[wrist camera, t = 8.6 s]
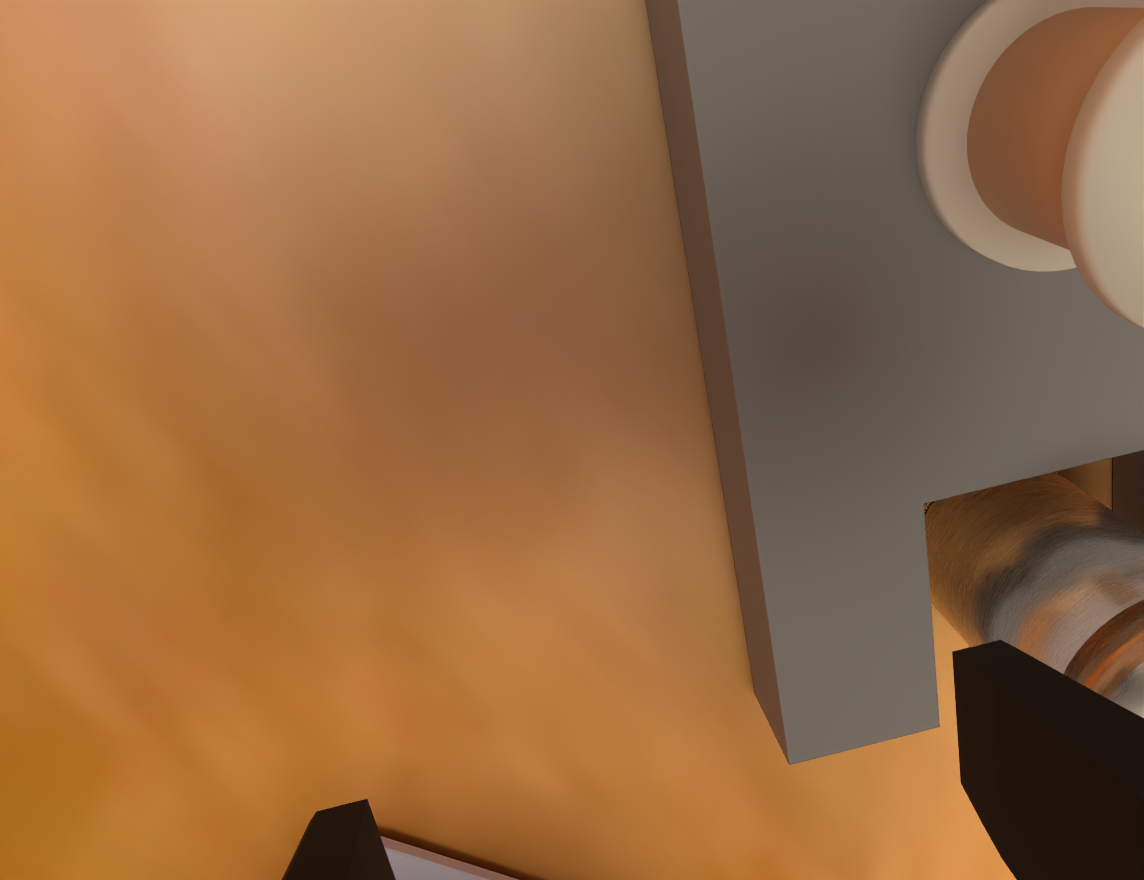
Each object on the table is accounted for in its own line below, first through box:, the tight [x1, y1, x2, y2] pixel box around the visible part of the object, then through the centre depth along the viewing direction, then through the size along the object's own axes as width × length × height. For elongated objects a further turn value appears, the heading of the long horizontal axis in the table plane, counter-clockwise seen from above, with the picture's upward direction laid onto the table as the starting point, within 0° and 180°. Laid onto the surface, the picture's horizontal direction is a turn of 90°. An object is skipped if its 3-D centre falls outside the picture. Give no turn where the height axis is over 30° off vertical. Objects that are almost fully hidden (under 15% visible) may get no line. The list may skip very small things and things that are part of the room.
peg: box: [924, 471, 1144, 718], centre depth 21 cm, size 4×4×7 cm
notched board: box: [646, 0, 1144, 765], centre depth 18 cm, size 16×12×8 cm
